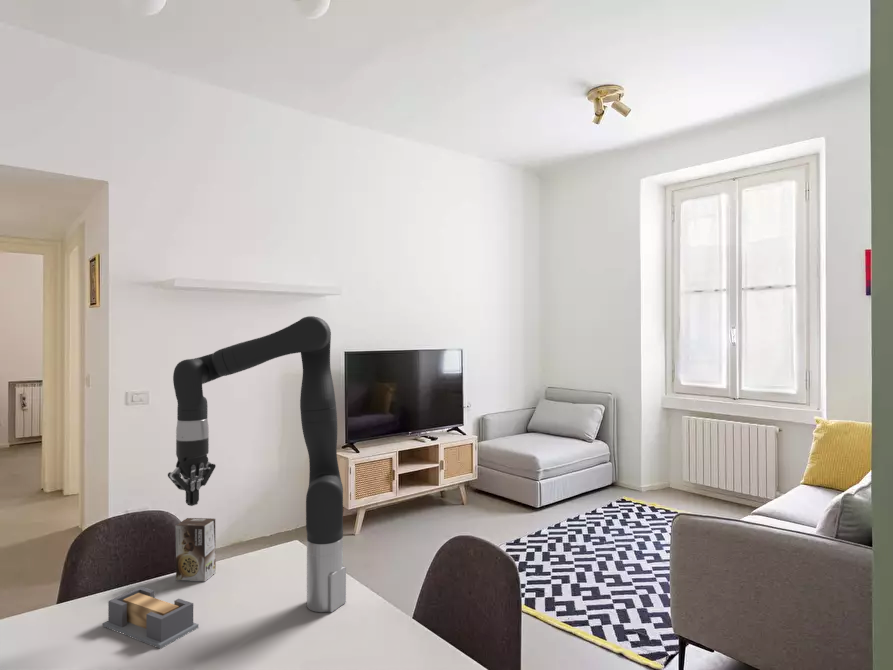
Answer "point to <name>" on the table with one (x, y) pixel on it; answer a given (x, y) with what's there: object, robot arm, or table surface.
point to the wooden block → (145, 608)
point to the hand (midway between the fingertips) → (192, 504)
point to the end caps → (151, 620)
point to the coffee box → (195, 549)
